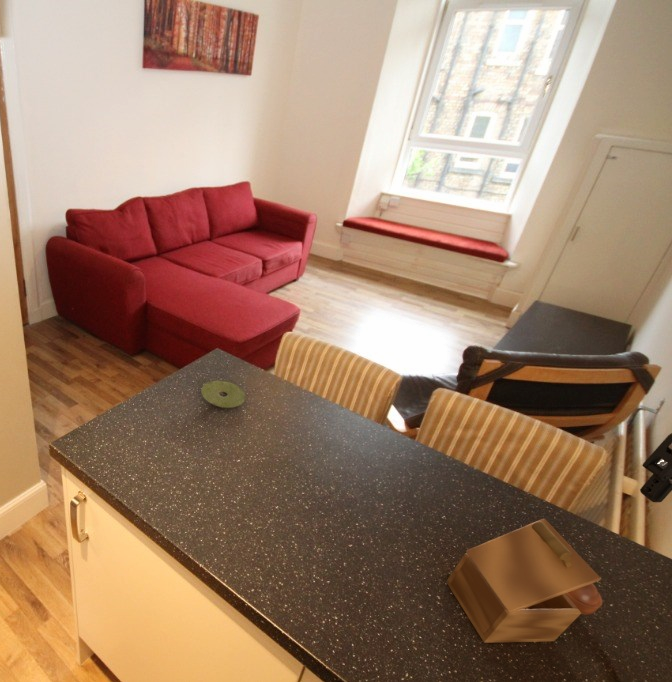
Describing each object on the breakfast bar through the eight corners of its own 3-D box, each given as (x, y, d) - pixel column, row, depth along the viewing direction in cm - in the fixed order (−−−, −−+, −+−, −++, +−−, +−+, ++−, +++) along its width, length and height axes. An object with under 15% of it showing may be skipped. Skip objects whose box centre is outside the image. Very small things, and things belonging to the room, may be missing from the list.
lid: (545, 520, 68) (538, 503, 65) (601, 580, 59) (595, 563, 57) (466, 552, 71) (457, 537, 69) (509, 613, 63) (501, 598, 60)
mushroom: (573, 599, 74) (598, 572, 70) (589, 633, 69) (617, 606, 65) (534, 587, 75) (557, 560, 71) (547, 619, 70) (572, 592, 67)
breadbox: (508, 581, 76) (531, 553, 72) (554, 641, 68) (582, 613, 64) (445, 581, 75) (464, 553, 71) (483, 642, 67) (508, 614, 63)
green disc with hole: (206, 382, 120) (207, 376, 119) (247, 392, 117) (248, 386, 116) (195, 406, 111) (196, 399, 110) (240, 418, 108) (241, 411, 107)
